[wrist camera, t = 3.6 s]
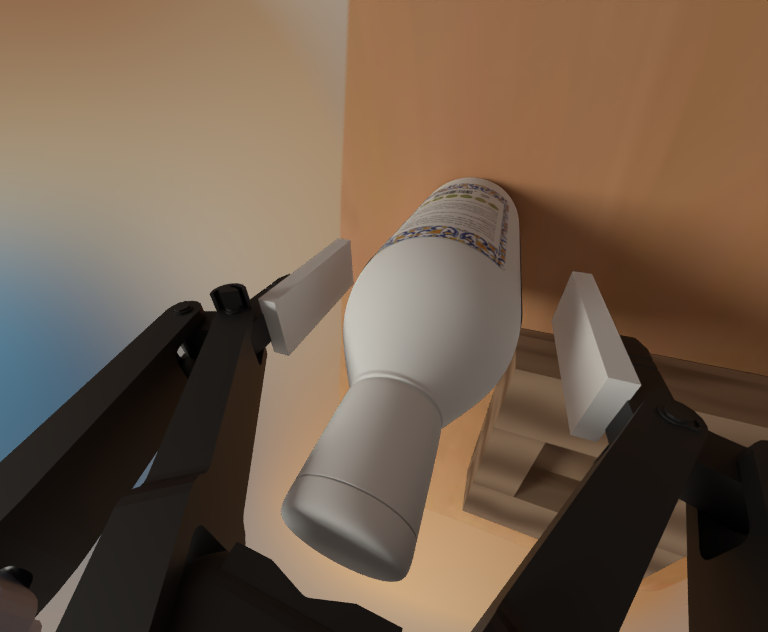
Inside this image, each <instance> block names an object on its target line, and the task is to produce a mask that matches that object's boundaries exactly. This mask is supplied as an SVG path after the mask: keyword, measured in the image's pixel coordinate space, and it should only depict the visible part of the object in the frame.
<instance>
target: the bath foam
mask: <svg viewBox="0 0 768 632" xmlns="http://www.w3.org/2000/svg"><path fill="white" fill-rule="evenodd" d="M521 323H522V283H521V249H520V239H519V218H518V213H517V209H516V207H515V204H514V202H513V201H512V199H511V198H510V196H509V195H508V194H507V193H506V192H505V191H504V190H503V189H502V188H501V187H500V186H498V185H496V184H495V183H493V182H491V181H488V180H485V179H481V178H473V177H468V178H460V179H456V180H453V181H450V182H448V183H446V184H444V185H442V186H441V187H439V188H438V189H437V190H436V191H434V192H433V193H432V194H431V195H430V196H429V197H428V198H427V199H426V200H425V201H424V202H423V203H422V205H421V206H420V207H419V208H418V209H417V210H416V211H415V212H414V213H413V214H412V215H411V216H410V217H409V218H408V220H407V221H406V222H405V223H404V224H403V225H402V226H401V227H400V228H399V229H398V230H397V231H396V232H395V234H394V235H393V236H392V237H391V238H390V239H389V240H388V241H387V242H386V243H385V244H384V245H383V246H382V247H381V249H380V250H379V251H378V252H377V253H376V254H375V255H374V256H373V257H372V258H371V259H370V260H369V262H368V263H367V264H366V266H365V267H364V269H363V271H362V272H361V274H360V275H359V277H358V279H357V281H356V283H355V285H354V287H353V289H352V291H351V294H350V297H349V300H348V303H347V307H346V311H345V316H344V327H343V341H344V353H345V360H346V367H347V374H348V380H349V386H350V389H349V391H348V392H347V393H346V395H345V397H344V398H343V400H342V401H341V403H340V405H339V406H338V408H337V410H336V412H335V413H334V415H333V416H332V418H331V420H330V421H329V423H328V425H327V427H326V429H325V430H324V432H323V434H322V435H321V437H320V439H319V440H318V442H317V444H316V445H315V447H314V449H313V450H312V452H311V454H310V456H309V457H308V459H307V461H306V462H305V464H304V466H303V468H302V469H301V471H300V473H299V474H298V476H297V478H296V480H295V481H294V483H293V485H292V486H291V488H290V490H289V491H288V494H287V495H286V497H285V499H284V501H283V504H282V508H281V515H282V518H283V520H284V522H285V524H286V525H287V526H288V528H289V529H290V530H291V531H292V532H293V533H294V534H295V535H296V536H298V537H299V538H300V539H301V540H302V541H304V542H305V543H306V544H308V545H309V546H310V547H312V548H313V549H315V550H316V551H318V552H319V553H321V554H322V555H324V556H326V557H327V558H329V559H331V560H333V561H334V562H336V563H338V564H340V565H342V566H344V567H346V568H348V569H350V570H353V571H355V572H357V573H360V574H362V575H365V576H368V577H371V578H374V579H378V580H382V581H389V582H393V581H400V580H402V579H403V578H404V577H406V575H407V573H408V571H409V569H410V566H411V563H412V559H413V555H414V551H415V546H416V542H417V537H418V533H419V529H420V525H421V520H422V516H423V511H424V507H425V503H426V498H427V494H428V489H429V485H430V481H431V476H432V472H433V467H434V463H435V458H436V453H437V449H438V444H439V439H440V433H441V429H442V428H444V427H445V426H447V425H448V424H449V423H451V422H452V421H454V420H455V419H457V418H458V417H459V416H461V415H462V414H464V413H465V412H466V411H468V410H469V409H471V408H472V407H473V406H474V405H476V404H477V403H478V402H479V401H481V400H482V399H483V398H484V397H485V396H486V395H487V394H488V393H489V392H490V391H491V390H492V389H493V388H494V387H495V385H496V384H497V383H498V382H499V380H500V379H501V377H502V376H503V374H504V373H505V371H506V370H507V368H508V366H509V364H510V362H511V359H512V357H513V354H514V352H515V349H516V346H517V342H518V338H519V333H520V328H521Z"/></svg>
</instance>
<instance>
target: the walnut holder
mask: <svg viewBox="0 0 768 632" xmlns="http://www.w3.org/2000/svg"><path fill="white" fill-rule="evenodd" d="M650 355H651V357H652V359H653V360H652V361H654V363H655V364H656V366H657V370H658V371H659V372H660V374H661V376H662V377H663V379H664V381H665V383H666V385H667V387H668V389H669V391H670V392H671V394H672V396H673V398H674V400H676V401H678V402H681V403H683V404H684V405H686V406H688V407H689V408H691V409H692V410H694V411H695V412H696V413H697V414H698V415H699V416H700V417H701V418H703V420H704V422H705V423H706V425H707V426H708V430H709V431H711V432H713V433H715V434H717V435H719V436H722V437H724V438H726V439H729V440H731V441H733V442H736V443H738V444H740V445H743V446H745V447H747V448H748V447H749V446H751V445H752V444H753V443H755V442H758V441H760V440H768V377H766V376H761V375H756V374H751V373H745V372H740V371H735V370H730V369H725V368H720V367H715V366H710V365H705V364H700V363H695V362H690V361H685V360H680V359H675V358H669V357H664V356H659V355H654V354H650ZM608 444H609V443H608V439H607V436H606V432H605V433H604V434H603V435H602V436H601V438H600V439H599V440H598V442H594V441H591V440H587V439H584V438H580V437H576V436H573V435H570V430H569V424H568V417H567V411H566V405H565V399H564V393H563V387H562V381H561V375H560V369H559V363H558V356H557V350H556V344H555V338H554V335H553V334H548V333H543V332H538V331H533V330H528V329H522V328H520V333H519V338H518V342H517V346H516V349H515V352H514V354H513V357H512V359H511V362H510V364H509V366H508V368H507V370H506V371H505V373H504V374H503V376H502V377H501V379H500V380H499V382H498V383H497V384H496V387H495V390H494V393H493V396H492V399H491V402H490V405H489V408H488V411H487V414H486V417H485V420H484V423H483V426H482V429H481V432H480V435H479V438H478V441H477V444H476V447H475V450H474V453H473V456H472V459H471V462H470V465H469V468H468V472H467V479H466V487H465V495H464V502H463V511H465V512H468V513H471V514H473V515H476V516H479V517H481V518H484V519H486V520H489V521H492V522H494V523H497V524H500V525H502V526H505V527H507V528H510V529H513V530H515V531H518V532H521V533H523V534H526V535H528V536H531V537H534V538H536V539H539V538H540V537H541V535H542V534H543V533H544V531H545V530H546V528H547V527H548V526H549V524H550V523H551V522H552V520H553V519H554V517H555V516H556V515H557V513H558V512H559V511H560V509H561V508H562V507H563V505H564V504H565V502H566V501H567V500H568V498H569V497H570V496H571V494H572V493H573V491H574V490H575V489H576V487H577V486H578V485H579V483H580V482H581V480H582V479H583V478H584V476H585V475H586V474H587V472H588V471H589V470H590V468H591V467H592V465H593V464H594V463H593V462H594V461H595V460H596V459H597V458H598V456H599V455H600V454H601V453H602V452H603V450H604V449H605V448H606V447H607V445H608ZM685 556H687V533H686V503H685V502H684V501H682V500H680V499H679V500H678V502H677V504H676V506H675V508H674V511H673V513H672V515H671V517H670V519H669V522H668V524H667V526H666V528H665V531H664V533H663V535H662V537H661V539H660V542H659V544H658V546H657V548H656V550H655V553H654V555H653V557H652V559H651V562H650V564H649V566H648V568H647V570H646V573H645V575H644V577H643V579H644V578H645V577H647V576H649V575H651V574H653V573H655V572H657V571H659V570H661V569H663V568H665V567H666V566H668V565H670V564H672V563H674V562H676V561H678V560H680V559H682V558H684V557H685Z"/></svg>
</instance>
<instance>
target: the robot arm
mask: <svg viewBox="0 0 768 632" xmlns="http://www.w3.org/2000/svg"><path fill="white" fill-rule="evenodd" d="M353 284H354V283H353V270H352V256H351V243H350V240H346V239H339V238H338V239H336V240H335V241H334V242H332V243H331V244H330V245H329V246H327V247H326V248H325V249H323V250H322V251H321V252H319V253H318V254H317V255H315V256H314V257H313V258H311V259H310V260H309V261H307V262H306V263H305V264H304V265H302V266H301V267H300V268H298V269H297V270H296V271H295V272H293V273H292V274H288V275H285V276H283V277H281V278H279V279H277V280H276V281H274V282H273V283H272V285H269V286H268V287H267V288H266V289H264V290H262V291H261V292H260V293H258V294H257V295H256V296H254V297H253V298H252V299H249V296H248V293H247V290H246V287H245V286H244V285H242V284H238V283H236V284H226V285H223V286H220V287H217V288H216V289H214V290H213V291H212V292H211V293H210V296H211V298H212V301H213V303H214V306H215V308H216V310H217V311H204V310H203V308H202V306H201V303H199V302H197V301H184V302H180V303H178V304H176V305H173V306H172V307H170V308H169V309H167V310H166V311H165V312H164V313H163V314H162V315H161V316H160V317H158V318H157V319H156V320H155V321H154V322H153V323H152V324H151V325H150V326H149V327H147V328H146V329H145V330H144V331H143V332H142V333H141V334H140V335H139V336H138V337H137V338H136V339H134V340H133V341H132V342H131V343H130V344H129V345H128V346H127V347H126V348H125V349H124V350H123V351H121V352H120V353H119V354H118V355H117V356H116V357H115V358H114V359H113V360H111V361H110V363H108V364H107V365H106V366H105V367H104V368H103V369H102V370H101V371H99V372H98V373H97V374H96V375H95V376H94V377H93V378H92V379H91V380H90V381H89V382H87V383H86V384H85V385H84V386H83V387H82V388H81V389H80V390H79V391H78V392H77V393H76V394H74V395H73V396H72V397H71V398H70V399H69V400H68V401H67V402H66V403H65V404H63V405H62V406H61V407H60V408H59V409H58V410H57V411H56V412H55V413H54V414H53V415H51V417H49V418H48V419H47V420H46V421H45V422H44V423H43V424H42V425H40V426H39V427H38V428H37V429H36V430H35V431H34V432H33V433H32V434H31V435H30V436H29V437H27V438H26V439H25V440H24V441H23V442H22V443H21V444H20V445H19V446H18V447H16V448H15V449H14V450H13V451H12V452H11V453H10V454H9V455H8V456H7V457H6V458H4V459H3V460H2V461H1V462H0V632H41V628H42V625H41V623H40V621H38V620H35V617H36V616H37V615H38V614H39V612H40V611H41V610H42V609H43V608H44V607H45V606H46V604H48V602H49V601H50V600H51V599H52V598H53V597H54V596H55V595H56V593H57V592H58V591H59V590H60V589H61V587H62V586H63V585H64V584H65V582H66V581H67V580H68V579H69V578H70V576H71V575H72V574H73V572H74V571H75V570H76V569H77V568H78V566H79V565H80V563H81V562H82V561H83V559H84V558H85V557H86V555H87V554H88V553H89V551H90V550H91V548H92V547H93V546H94V544H95V543H96V541H97V540H98V538H99V537H100V535H101V537H100V539H99V541H98V543H97V545H96V547H95V549H94V551H93V554H92V556H91V558H90V560H89V562H88V564H87V566H86V568H85V571H84V573H83V575H82V577H81V579H80V581H79V583H78V585H77V588H76V590H75V592H74V594H73V596H72V598H71V600H70V602H69V604H68V607H67V609H66V611H65V613H64V615H63V617H62V619H61V622H60V624H59V626H58V628H57V630H56V632H402V628H401V627H399V626H397V625H395V624H394V623H392V622H390V621H388V620H386V619H384V618H382V617H380V616H378V615H376V614H375V613H373V612H371V611H369V610H367V609H365V608H363V607H361V606H359V605H357V604H353V603H345V602H337V601H328V600H321V599H313V598H307V597H305V596H304V595H302V594H301V592H300V591H299V590H298V589H297V588H296V587H295V586H294V584H293V583H292V582H291V581H290V580H289V579H288V578H287V576H286V575H285V574H284V573H283V572H282V571H281V570H280V568H279V567H278V566H277V565H276V564H275V563H274V562H273V561H272V560H271V559H269V558H267V557H265V556H263V555H261V554H260V553H258V552H256V551H254V550H252V549H250V548H248V547H246V546H245V530H244V524H243V515H244V507H245V500H246V493H247V486H248V480H249V473H250V466H251V459H252V453H253V445H254V439H255V433H256V426H257V419H258V413H259V406H260V398H261V392H262V386H263V379H264V372H265V365H266V359H267V351H266V348H265V347H266V346H267V345H268V344H269V343H270V342H271V343H272V346H273V349H274V351H275V352H277V353H281V354H285V355H288V356H289V355H290V354H291V353H292V352H293V351H294V350H295V348H296V347H297V346H298V345H299V344H300V343H301V342H302V341H303V340H304V338H305V337H306V336H307V335H308V334H309V333H310V332H311V331H312V329H313V328H314V327H315V326H316V325H317V324H318V323H319V322H320V321H321V319H322V318H323V317H324V316H325V315H326V314H327V313H328V312H329V311H330V309H331V308H332V307H333V306H334V305H335V304H336V303H337V302H338V300H339V299H340V298H341V297H342V296H343V295H344V294H345V293H346V292H347V291H348V289H349V288H350V287H351V286H352V285H353ZM552 326H553V332H554V338H555V344H556V350H557V356H558V363H559V369H560V375H561V381H562V387H563V393H564V399H565V405H566V411H567V417H568V424H569V430H570V435H573V436H576V437H580V438H584V439H587V440H591V441H594V442H598V440H599V439H600V438H601V436H602V435H603V434H604V433H605V432H606V436H607V439H608V443H609V444H608V445H607V447H606V448H605V449H604V450H603V452H602V453H601V454H600V455H599V456H598V458H597V459H596V460H595V461H594V462H593V463H594V464H593V465H592V467H591V468H590V470H589V471H588V472H587V474H586V475H585V476H584V478H583V479H582V480H581V482H580V483H579V485H578V486H577V487H576V489H575V490H574V491H573V493H572V494H571V496H570V497H569V498H568V500H567V501H566V502H565V504H564V505H563V507H562V508H561V509H560V511H559V512H558V513H557V515H556V516H555V517H554V519H553V520H552V522H551V523H550V524H549V526H548V527H547V528H546V530H545V531H544V533H543V534H542V535H541V537H540V538H539V539H538V541H537V542H536V544H535V545H534V546H533V548H532V549H531V551H530V552H529V553H528V555H527V556H526V557H525V559H524V560H523V561H522V563H521V564H520V565H519V567H518V568H517V570H516V571H515V572H514V574H513V575H512V576H511V578H510V579H509V581H508V582H507V583H506V585H505V586H504V587H503V589H502V590H501V591H500V593H499V594H498V596H497V597H496V599H495V600H494V601H493V602H492V604H491V605H490V607H489V608H488V609H487V611H486V612H485V613H484V615H483V617H482V618H481V619H480V620H479V622H478V623H477V624H476V626H475V627H474V628H473V630H472V631H471V632H619V630H620V628H621V626H622V624H623V621H624V619H625V617H626V615H627V612H628V610H629V608H630V606H631V603H632V601H633V599H634V597H635V595H636V593H637V590H638V588H639V586H640V584H641V581H642V579H643V577H644V575H645V573H646V570H647V568H648V566H649V564H650V562H651V559H652V557H653V555H654V553H655V550H656V548H657V546H658V544H659V542H660V539H661V537H662V535H663V533H664V531H665V528H666V526H667V524H668V522H669V519H670V517H671V515H672V513H673V511H674V508H675V506H676V504H677V502H678V500H679V499H680V500H682V501H684V502H685V503H686V533H687V573H688V613H689V632H768V440H760V441H758V442H755V443H753V444H752V445H751V446H749V447H748V448H747V447H745V446H743V445H740V444H738V443H736V442H733V441H731V440H729V439H726V438H724V437H722V436H719V435H717V434H715V433H713V432H711V431H709V430H708V426H707V425H706V423H705V422H704V420H703V418H701V417H700V416H699V415H698V414H697V413H696V412H695V411H694V410H692V409H691V408H689V407H688V406H686V405H684V404H683V403H681V402H678V401H676V400H674V398H673V396H672V394H671V392H670V391H669V389H668V387H667V385H666V383H665V381H664V379H663V377H662V376H661V374H660V372H659V371H658V370H657V366H656V364H655V363H654V361H652V360H653V359H652V357H651V355H650V353H649V351H648V349H647V348H646V347H645V346H644V345H642V344H641V343H640V342H639V341H638V340H637V339H636V338H632V337H627V336H622V335H619V334H618V331H617V329H616V327H615V325H614V322H613V320H612V318H611V316H610V313H609V311H608V309H607V307H606V304H605V302H604V300H603V298H602V295H601V293H600V291H599V289H598V286H597V284H596V282H595V280H594V277H593V275H592V274H590V273H582V272H575V271H572V273H571V275H570V278H569V280H568V283H567V285H566V287H565V290H564V292H563V294H562V297H561V299H560V302H559V304H558V306H557V309H556V311H555V314H554V316H553V318H552ZM180 346H181V347H182V349H183V350H184V352H185V353H184V354H183V356H182V357H180V356H179V355H178V353H177V351H178V349H179V347H180ZM157 451H158V452H157ZM156 452H157V455H156V457H155V459H154V462H153V464H152V466H151V469H150V471H149V474H148V476H147V478H146V480H145V482H144V483H143V484H142V485H141V486H140V487H137V488H134V489H132V488H133V486H134V485H135V484H136V482H137V480H138V479H139V478H140V476H141V475H142V473H143V472H144V470H145V469H146V467H147V466H148V464H149V463H150V461H151V460H152V458H153V457H154V455H155V454H156Z"/></svg>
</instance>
